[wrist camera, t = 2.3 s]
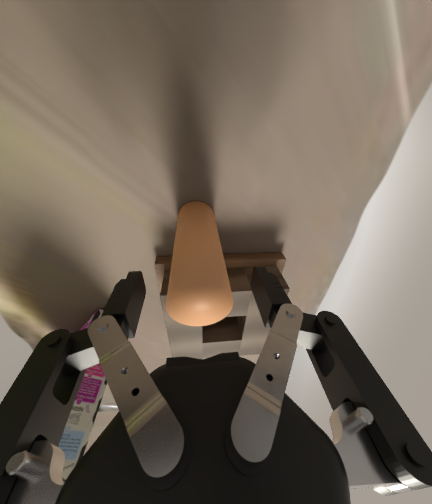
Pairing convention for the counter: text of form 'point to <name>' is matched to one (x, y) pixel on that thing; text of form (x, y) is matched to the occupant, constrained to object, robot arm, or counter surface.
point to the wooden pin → (198, 270)
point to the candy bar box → (82, 412)
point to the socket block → (236, 322)
